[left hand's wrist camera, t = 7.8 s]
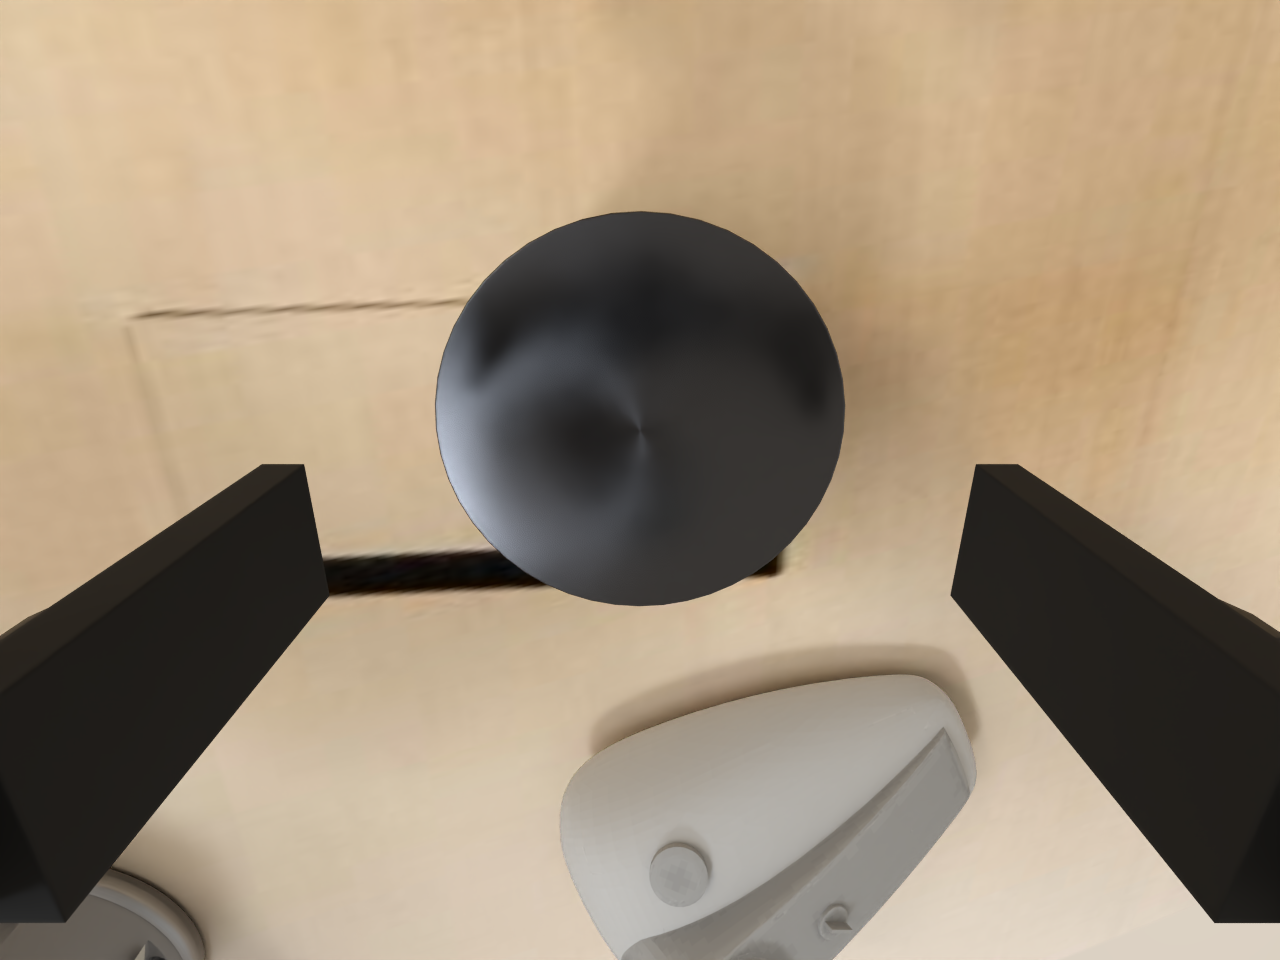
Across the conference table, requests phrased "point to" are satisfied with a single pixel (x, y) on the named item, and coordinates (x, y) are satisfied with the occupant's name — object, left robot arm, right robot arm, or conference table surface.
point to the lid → (640, 408)
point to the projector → (765, 819)
